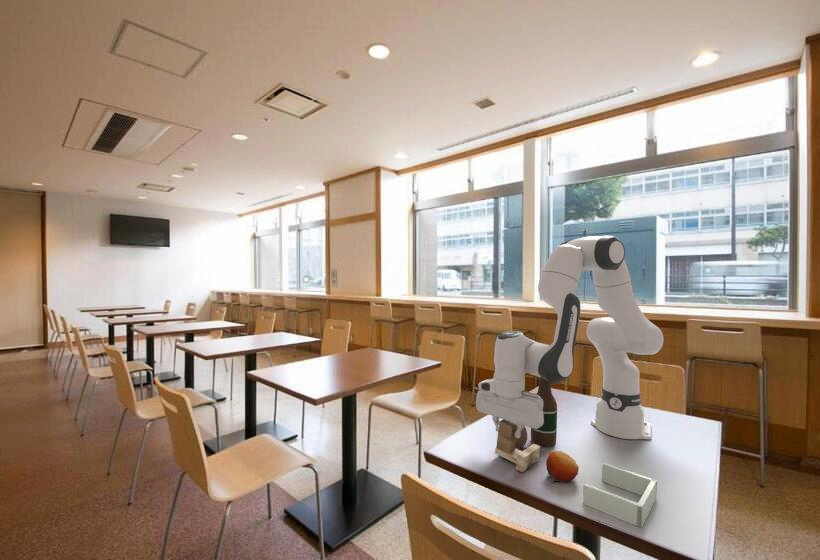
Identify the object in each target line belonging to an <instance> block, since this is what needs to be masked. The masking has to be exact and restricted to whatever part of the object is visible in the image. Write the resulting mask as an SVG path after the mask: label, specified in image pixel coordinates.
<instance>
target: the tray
mask: <svg viewBox="0 0 820 560" xmlns="http://www.w3.org/2000/svg"><path fill="white" fill-rule="evenodd" d="M601 466H602V468H601V471H602V472H601V474H602V475H601V482H603V483H606V484H609V485H612V486H615V487H618V488H620V489H623V490H626V491H628V492H631V493H634V494H635V495H640V496H641V497H640V498H639V501H638V502H636V501H634V500H630V499H629V498H626V497H623V496H620V495H618V494H615V493H612V492H609V491H606V490H604V489H601V488H599V487H596V486H594V485H591V484H589V483H586V482H585V483H584V484H583V495H582V497H583V498H582V504H583V505H585V506H587V507H589V508H592V509H595V510H597V511H599V512H602V513H603V514H607V515H609V516H611V517H614V518H617V519H618V520H621V521H624V522H626V523H628V524H631V525H633V526H636V527H638V528H643V525H644V523H645V521H646V520H647V519H648V516H649V514H650V513H651V510H652V508H653V507H654V504H655V502H656V501H657V491H658V490H657V488H658V480H657V479H654V478H651V477H648V476H645V475H641V474H639V473H636V472H632V471H630V470H627V469H624V468H622V467H617V466H614V465H612V464H609V463H606V462H603V463H602V465H601Z"/></svg>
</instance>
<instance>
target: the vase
mask: <svg viewBox="0 0 820 560" xmlns="http://www.w3.org/2000/svg"><path fill="white" fill-rule="evenodd" d="M518 428H519V427H518ZM527 440H528V431H527V428H526V426H524V428H523V429H522V430H521V436H520V438H517V439H516V447H515V448H516V449H518V450H520V449H522V448H523V447H524V446H526V443H527V442H528V441H527ZM519 448H520V449H519Z"/></svg>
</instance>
